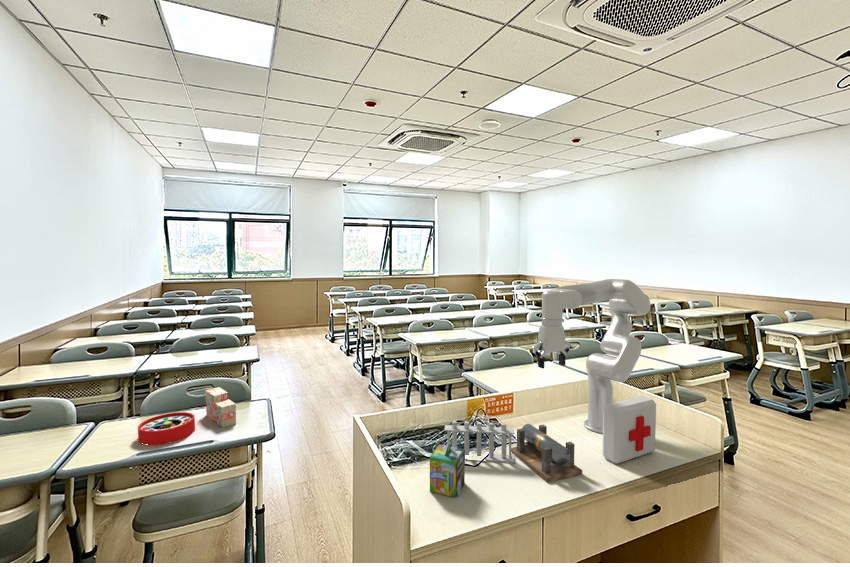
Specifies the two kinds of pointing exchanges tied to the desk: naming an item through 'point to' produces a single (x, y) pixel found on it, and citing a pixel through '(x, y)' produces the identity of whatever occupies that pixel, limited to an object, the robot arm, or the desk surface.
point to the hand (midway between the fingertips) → (551, 366)
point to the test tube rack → (490, 430)
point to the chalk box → (447, 470)
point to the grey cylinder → (546, 444)
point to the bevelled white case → (628, 429)
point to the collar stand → (544, 459)
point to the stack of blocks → (220, 407)
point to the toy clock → (166, 428)
